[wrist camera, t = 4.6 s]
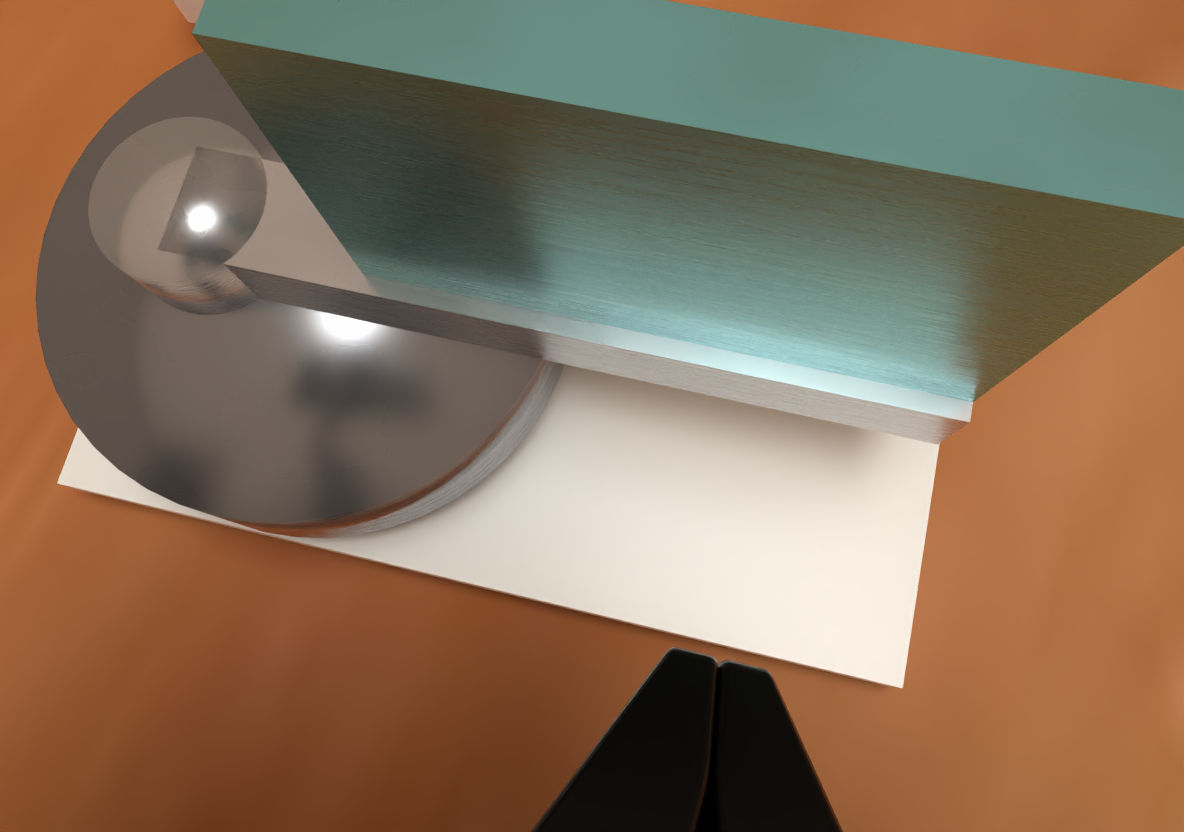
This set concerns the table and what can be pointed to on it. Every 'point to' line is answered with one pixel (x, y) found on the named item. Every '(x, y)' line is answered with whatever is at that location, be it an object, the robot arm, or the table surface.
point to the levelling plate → (670, 521)
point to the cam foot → (566, 237)
